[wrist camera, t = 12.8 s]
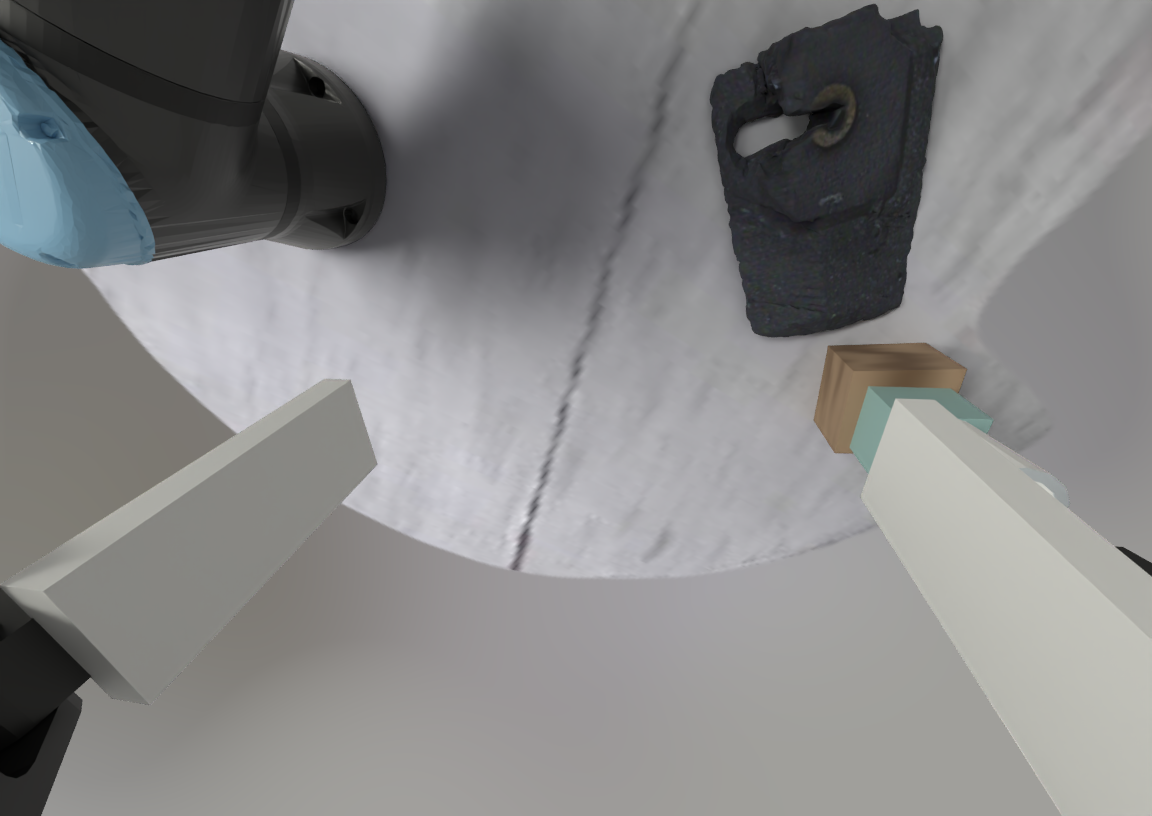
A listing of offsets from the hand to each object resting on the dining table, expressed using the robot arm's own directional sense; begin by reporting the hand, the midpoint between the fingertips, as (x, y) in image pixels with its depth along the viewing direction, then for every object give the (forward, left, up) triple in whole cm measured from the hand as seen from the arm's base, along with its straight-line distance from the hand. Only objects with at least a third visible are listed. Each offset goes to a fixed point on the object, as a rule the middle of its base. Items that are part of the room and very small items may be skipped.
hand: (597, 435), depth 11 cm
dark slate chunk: (+14, +3, -32) cm, 35 cm away
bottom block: (+22, -13, -32) cm, 41 cm away
